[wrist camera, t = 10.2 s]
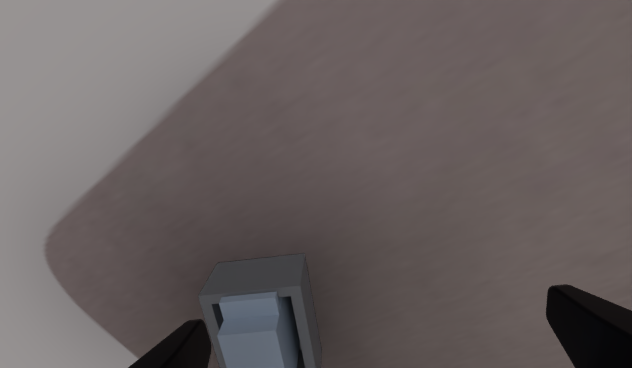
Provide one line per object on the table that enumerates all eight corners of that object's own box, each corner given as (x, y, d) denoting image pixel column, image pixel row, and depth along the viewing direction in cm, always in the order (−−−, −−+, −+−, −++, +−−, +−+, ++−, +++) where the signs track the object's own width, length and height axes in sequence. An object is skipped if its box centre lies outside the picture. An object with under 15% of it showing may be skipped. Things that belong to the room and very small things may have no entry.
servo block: (302, 353, 23) (296, 419, 18) (259, 357, 23) (243, 423, 19) (283, 261, 20) (271, 311, 16) (236, 267, 21) (211, 317, 16)
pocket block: (321, 349, 23) (320, 393, 20) (242, 356, 24) (229, 399, 20) (304, 253, 21) (300, 285, 18) (217, 262, 21) (198, 295, 18)
